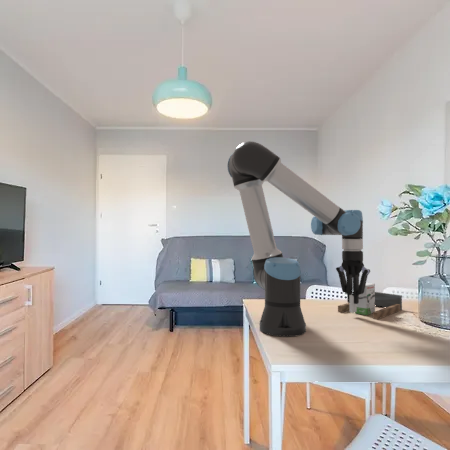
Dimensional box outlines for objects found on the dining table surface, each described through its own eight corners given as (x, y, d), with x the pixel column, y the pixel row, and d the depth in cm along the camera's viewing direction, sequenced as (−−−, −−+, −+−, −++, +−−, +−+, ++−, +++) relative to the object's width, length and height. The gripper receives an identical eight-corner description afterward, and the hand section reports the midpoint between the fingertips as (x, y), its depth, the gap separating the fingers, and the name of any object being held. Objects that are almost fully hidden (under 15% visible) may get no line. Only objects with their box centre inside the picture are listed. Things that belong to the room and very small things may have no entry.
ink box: (366, 315, 131) (366, 285, 131) (354, 313, 134) (354, 283, 135) (375, 312, 137) (375, 282, 137) (363, 310, 140) (363, 281, 141)
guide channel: (377, 319, 125) (376, 303, 125) (338, 311, 137) (337, 297, 137) (401, 309, 141) (401, 295, 141) (365, 303, 153) (364, 290, 153)
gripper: (373, 250, 127) (374, 313, 127) (341, 249, 137) (342, 307, 136) (364, 251, 122) (365, 316, 122) (331, 249, 132) (332, 310, 131)
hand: (353, 311), depth 129 cm, fingers closed
